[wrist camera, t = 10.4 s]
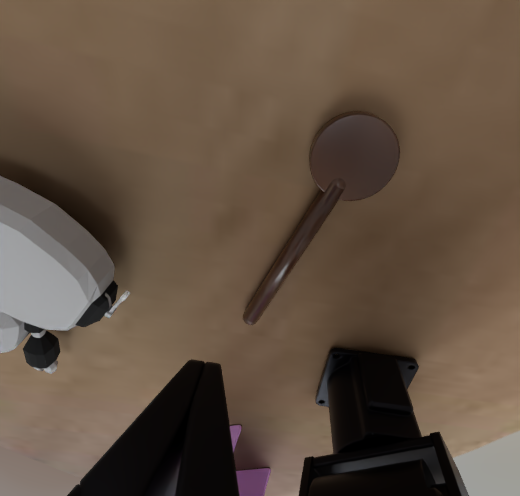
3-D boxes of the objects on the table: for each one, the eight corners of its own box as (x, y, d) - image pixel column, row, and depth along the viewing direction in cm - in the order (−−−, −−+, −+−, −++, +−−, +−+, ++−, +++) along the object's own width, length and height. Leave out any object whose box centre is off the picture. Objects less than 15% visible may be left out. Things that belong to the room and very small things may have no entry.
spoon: (275, 328, 24) (274, 339, 23) (220, 304, 23) (217, 315, 22) (413, 137, 16) (421, 141, 15) (338, 94, 16) (341, 96, 15)
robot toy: (78, 349, 28) (161, 250, 21) (42, 398, 25) (128, 298, 17) (-66, 268, 25) (-29, 116, 18) (-133, 310, 21) (-121, 140, 14)
